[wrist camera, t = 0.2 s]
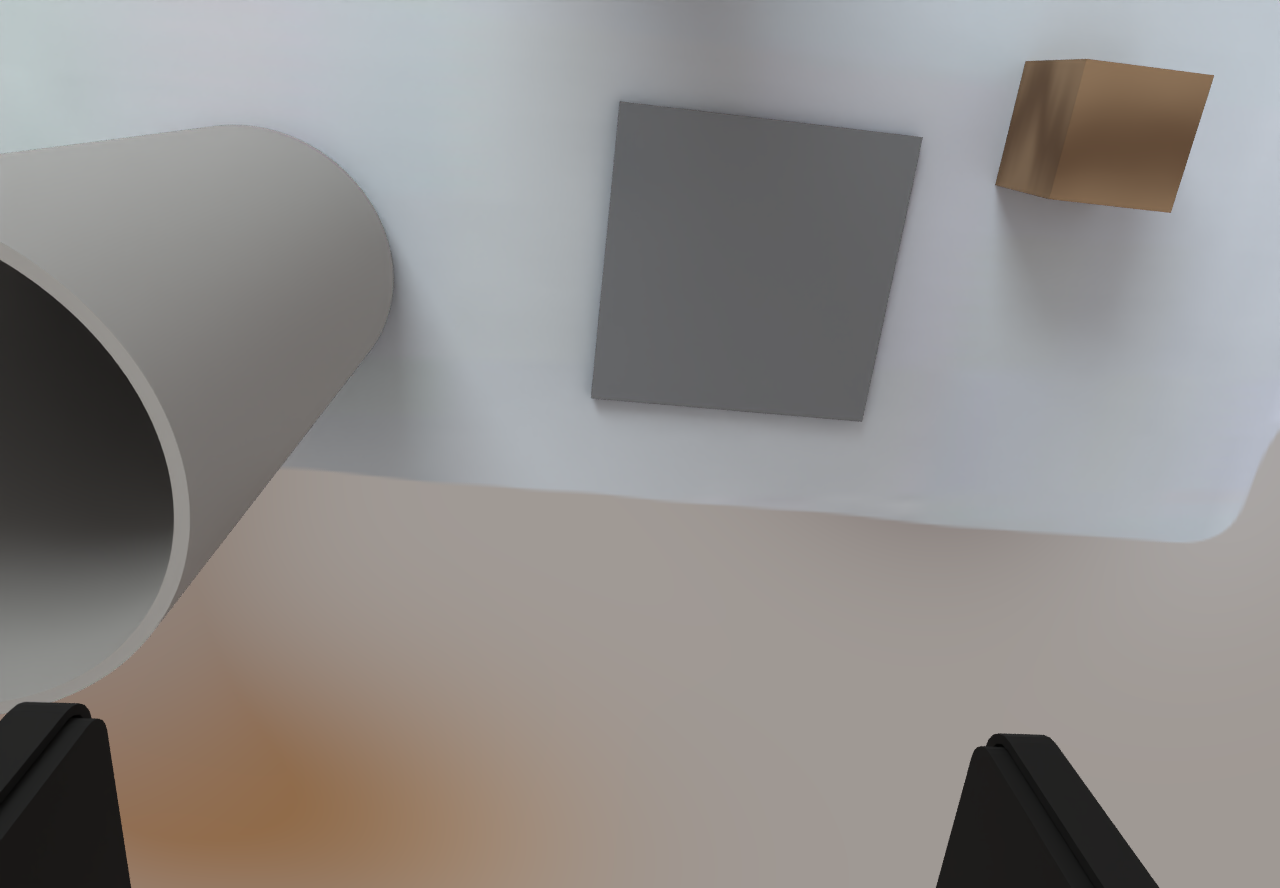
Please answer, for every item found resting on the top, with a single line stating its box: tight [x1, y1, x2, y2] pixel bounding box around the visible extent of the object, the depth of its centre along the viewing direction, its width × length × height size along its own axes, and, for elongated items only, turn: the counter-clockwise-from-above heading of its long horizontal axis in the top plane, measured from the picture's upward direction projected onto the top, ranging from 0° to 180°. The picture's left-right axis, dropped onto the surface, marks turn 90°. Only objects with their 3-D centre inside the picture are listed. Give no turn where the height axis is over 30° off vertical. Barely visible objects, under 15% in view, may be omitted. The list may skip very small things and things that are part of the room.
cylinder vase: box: [0, 125, 394, 714], centre depth 31 cm, size 12×12×25 cm
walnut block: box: [995, 59, 1214, 213], centre depth 41 cm, size 6×6×6 cm
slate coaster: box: [591, 102, 923, 422], centre depth 44 cm, size 14×14×1 cm
